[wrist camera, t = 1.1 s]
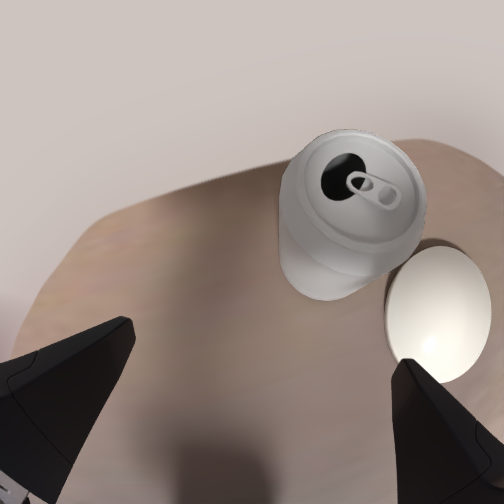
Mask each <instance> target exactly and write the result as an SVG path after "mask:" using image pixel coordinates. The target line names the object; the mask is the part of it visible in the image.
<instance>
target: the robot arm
mask: <svg viewBox="0 0 504 504" xmlns="http://www.w3.org/2000/svg"><path fill="white" fill-rule="evenodd" d="M135 340H136V336H135V332H134V327H133V322H132V320H131V319H130V318H127V317H124V316H119V317H116V318H114V319H112V320H109V321H107V322H104V323H102V324H100V325H97V326H95V327H92V328H90V329H88V330H85V331H83V332H80V333H78V334H75V335H73V336H71V337H68V338H66V339H63V340H61V341H58V342H56V343H54V344H51V345H49V346H46V347H44V348H41V349H39V351H38V350H36V351H34V352H31V353H29V354H26V355H24V356H21V357H18V358H15V359H12V360H9V361H6V362H3V363H0V504H30V501H29V497H27V496H28V494H29V492H31V493H32V494H34V495H35V496H37V497H38V498H40V499H42V500H43V501H45V502H46V503H48V504H56V502H57V499H58V497H59V495H60V493H61V490H62V488H63V486H64V484H65V482H66V480H67V478H68V475H69V473H70V471H71V469H72V467H73V465H74V463H75V461H76V459H77V456H78V454H79V452H80V450H81V448H82V447H83V445H84V443H85V441H86V439H87V437H88V435H89V433H90V431H91V429H92V427H93V425H94V423H95V421H96V420H97V418H98V416H99V414H100V412H101V410H102V408H103V407H104V405H105V403H106V401H107V399H108V398H109V396H110V394H111V392H112V390H113V389H114V387H115V385H116V383H117V381H118V380H119V378H120V376H121V374H122V371H123V369H124V367H125V364H126V362H127V360H128V357H129V355H130V353H131V351H132V348H133V346H134V344H135ZM391 390H392V422H393V432H394V442H395V453H396V467H397V492H398V504H504V444H503V443H501V442H500V441H499V440H498V439H497V438H496V437H494V436H493V435H492V434H491V433H490V432H489V431H488V430H487V429H486V428H485V427H484V426H483V425H482V424H481V423H480V422H479V421H478V420H476V418H475V417H474V416H473V415H472V414H471V413H470V412H469V411H468V410H467V409H466V408H465V407H464V406H463V405H462V404H461V403H460V402H459V401H458V400H457V399H455V398H454V397H453V396H452V395H451V394H450V393H449V392H448V391H447V390H446V389H445V388H444V387H443V386H442V385H441V384H440V383H439V382H438V381H437V380H436V379H435V378H434V377H432V376H431V375H430V374H429V373H428V372H427V371H426V370H425V369H424V368H423V367H422V366H421V365H420V364H419V363H418V362H416V361H415V360H414V359H412V358H403V359H401V360H400V362H399V364H398V366H397V368H396V370H395V371H394V373H393V375H392V379H391Z"/></svg>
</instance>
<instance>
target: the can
mask: <svg viewBox="0 0 504 504" xmlns="http://www.w3.org/2000/svg"><path fill="white" fill-rule="evenodd" d="M426 210H427V198H426V189H425V186H424V183H423V181H422V178H421V176H420V173H419V171H418V169H417V168H416V166H415V165H414V164H413V162H412V161H411V160H410V159H409V157H408V156H407V155H406V154H405V153H404V152H403V151H402V150H401V149H399V148H398V147H397V146H396V145H394V144H393V143H392V142H391V141H388V140H387V139H385V138H382V137H380V136H378V135H376V134H374V133H370V132H366V131H361V130H356V129H344V130H334V131H331V132H328V133H325V134H323V135H320V136H318V137H317V138H316V139H314V140H313V141H312V142H311V143H310V144H308V145H307V146H306V147H305V148H304V149H303V150H302V151H301V152H299V153H298V154H297V155H296V156H295V157H294V158H292V160H291V162H290V163H289V165H288V167H287V169H286V170H285V172H284V174H283V176H282V181H281V188H280V194H279V258H280V264H281V269H282V271H283V272H284V274H285V276H286V278H287V280H288V282H289V283H290V284H291V285H292V286H294V287H295V288H296V289H297V290H298V291H299V292H300V293H302V294H304V295H306V296H308V297H310V298H312V299H317V300H325V301H331V300H336V299H341V298H344V297H346V296H348V295H349V294H351V293H353V292H355V291H357V290H358V289H360V288H362V287H364V286H366V285H367V284H369V283H371V282H373V281H374V280H376V279H378V278H380V277H381V276H383V275H385V274H386V273H388V272H390V271H391V270H393V269H394V268H396V267H397V266H399V265H400V264H402V263H404V262H405V261H407V260H408V259H409V257H410V256H411V254H412V253H413V252H414V250H415V249H416V247H417V246H418V244H419V243H420V240H421V236H422V232H423V228H424V224H425V214H426Z"/></svg>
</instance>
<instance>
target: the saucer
mask: <svg viewBox="0 0 504 504" xmlns="http://www.w3.org/2000/svg"><path fill="white" fill-rule="evenodd" d="M490 323H491V301H490V295H489V291H488V288H487V284H486V282H485V279H484V277H483V275H482V273H481V272H480V270H479V269H478V267H477V266H476V264H475V263H474V262H473V261H472V260H471V259H470V258H469V257H468V256H467V255H465V254H464V253H462V252H461V251H459V250H457V249H454V248H451V247H446V246H435V247H430V248H427V249H425V250H422V251H421V252H419V253H417V254H416V255H414V256H413V257H411V258H410V259H409V260H408V261H406V262H405V263H404V265H403V266H402V267H401V268H400V269H399V271H398V272H397V274H396V275H395V277H394V279H393V281H392V283H391V286H390V288H389V291H388V294H387V298H386V303H385V311H384V326H385V334H386V339H387V342H388V346H389V348H390V351H391V353H392V355H393V357H394V359H395V360H396V362H397V363H398V364H399V362H400V360H401V359H403V358H412V359H414V360H415V361H416V362H418V363H419V364H420V365H421V366H422V367H423V368H424V369H425V370H426V371H427V372H428V373H429V374H430V375H431V376H432V377H434V378H435V379H436V380H437V381H438V382H439V383H444V382H448V381H451V380H453V379H455V378H458V377H459V376H461V375H462V374H464V373H465V372H466V371H467V370H468V369H469V368H470V367H471V366H472V365H473V364H474V363H475V361H476V360H477V358H478V357H479V355H480V354H481V352H482V350H483V348H484V345H485V343H486V340H487V337H488V334H489V329H490Z"/></svg>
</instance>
